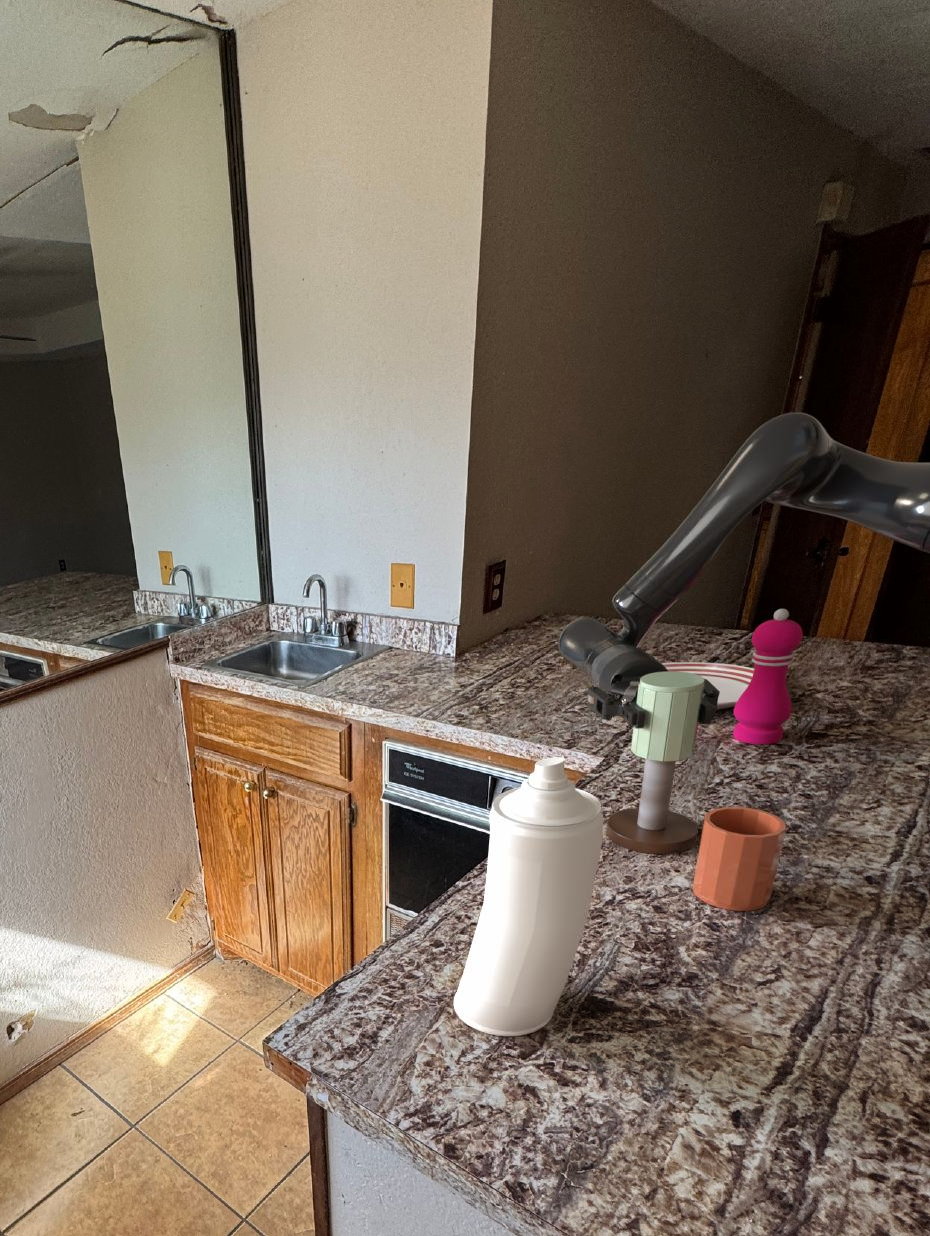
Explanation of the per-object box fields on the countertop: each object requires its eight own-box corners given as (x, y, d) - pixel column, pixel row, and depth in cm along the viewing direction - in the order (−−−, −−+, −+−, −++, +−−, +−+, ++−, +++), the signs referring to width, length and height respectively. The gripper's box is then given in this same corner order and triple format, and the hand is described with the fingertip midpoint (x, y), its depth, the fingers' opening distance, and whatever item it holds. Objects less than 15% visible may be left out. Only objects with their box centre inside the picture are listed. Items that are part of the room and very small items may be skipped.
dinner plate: (596, 677, 152) (597, 661, 150) (754, 672, 142) (758, 655, 141) (612, 723, 129) (614, 705, 128) (801, 720, 119) (806, 701, 118)
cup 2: (723, 870, 85) (736, 801, 81) (785, 899, 79) (803, 825, 75) (676, 888, 84) (688, 817, 80) (737, 918, 77) (752, 843, 74)
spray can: (489, 952, 78) (496, 730, 67) (596, 986, 71) (625, 745, 60) (439, 1015, 71) (438, 777, 60) (553, 1060, 64) (577, 800, 53)
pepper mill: (773, 749, 112) (801, 616, 103) (720, 740, 117) (743, 612, 108) (793, 735, 115) (822, 605, 106) (741, 726, 120) (764, 602, 112)
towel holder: (647, 811, 100) (666, 667, 91) (715, 839, 91) (744, 683, 83) (588, 830, 98) (603, 684, 89) (653, 862, 89) (676, 703, 80)
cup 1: (659, 737, 93) (669, 668, 89) (705, 752, 88) (718, 678, 84) (619, 749, 91) (627, 679, 87) (664, 765, 86) (674, 691, 82)
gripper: (573, 655, 100) (610, 692, 85) (691, 645, 97) (751, 681, 82) (569, 708, 103) (604, 752, 88) (683, 700, 100) (739, 744, 85)
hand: (674, 718), depth 85 cm, fingers closed on cup 1, 6 cm apart
